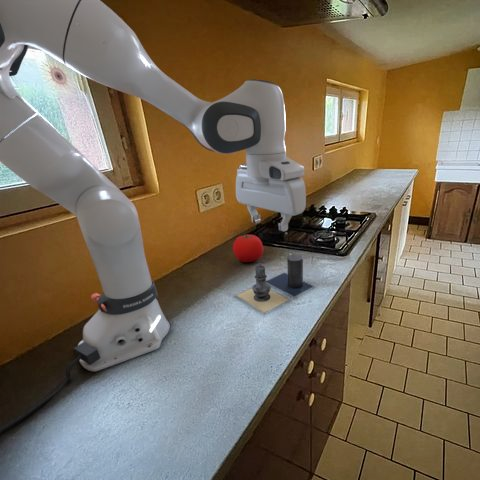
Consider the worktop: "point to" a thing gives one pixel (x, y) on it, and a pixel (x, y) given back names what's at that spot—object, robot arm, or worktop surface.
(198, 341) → the worktop surface
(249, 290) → the oat mat
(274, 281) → the slate mat
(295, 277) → the dark grey cylinder
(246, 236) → the tomato
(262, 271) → the grey chess piece
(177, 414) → the worktop surface
